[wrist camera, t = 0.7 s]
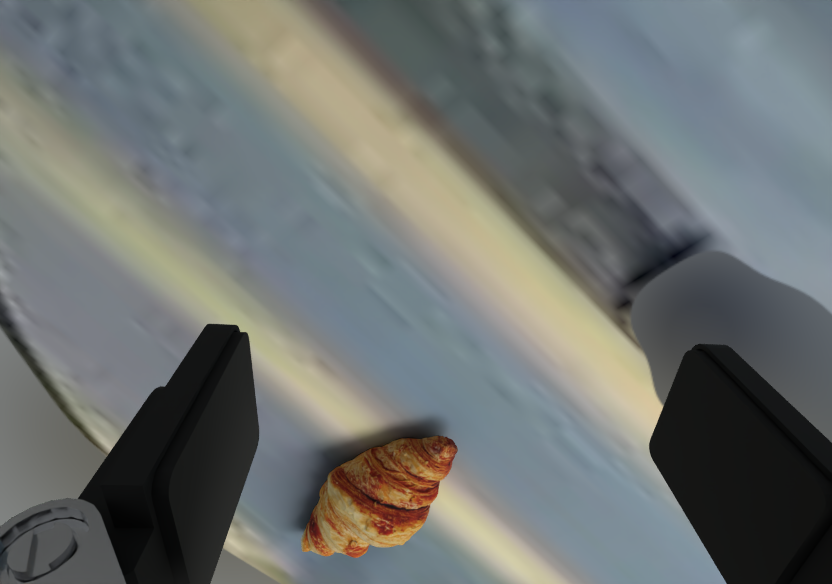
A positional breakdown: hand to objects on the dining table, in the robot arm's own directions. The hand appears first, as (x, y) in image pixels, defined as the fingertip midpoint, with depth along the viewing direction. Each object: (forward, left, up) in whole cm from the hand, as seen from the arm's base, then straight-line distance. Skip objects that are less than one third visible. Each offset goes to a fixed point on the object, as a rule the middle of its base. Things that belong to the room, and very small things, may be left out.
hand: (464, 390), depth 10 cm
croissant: (+25, +21, -26) cm, 42 cm away
